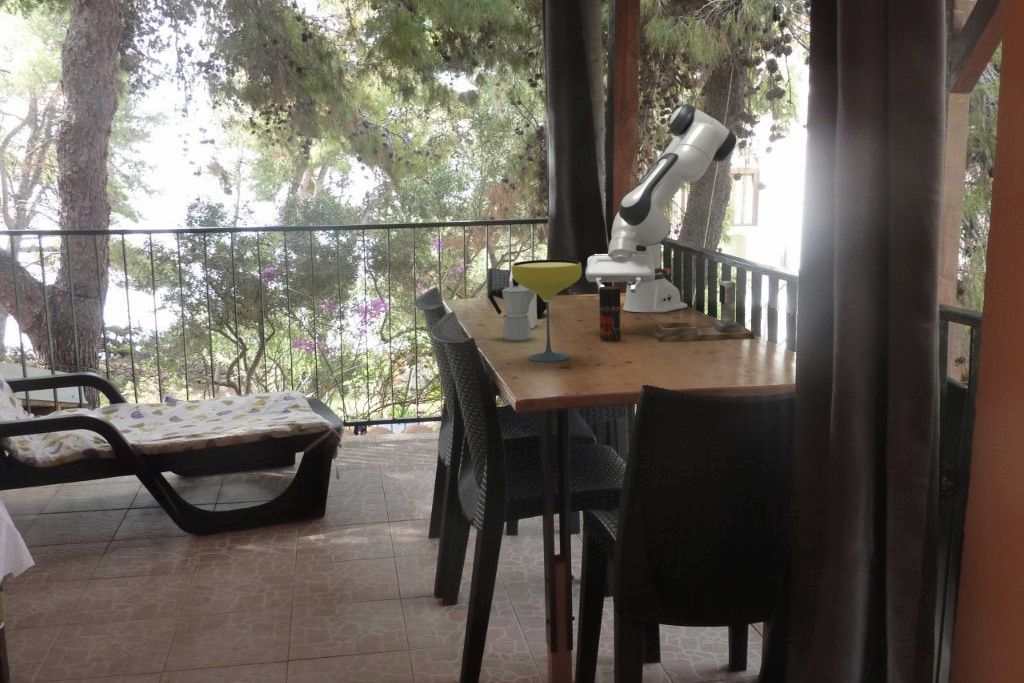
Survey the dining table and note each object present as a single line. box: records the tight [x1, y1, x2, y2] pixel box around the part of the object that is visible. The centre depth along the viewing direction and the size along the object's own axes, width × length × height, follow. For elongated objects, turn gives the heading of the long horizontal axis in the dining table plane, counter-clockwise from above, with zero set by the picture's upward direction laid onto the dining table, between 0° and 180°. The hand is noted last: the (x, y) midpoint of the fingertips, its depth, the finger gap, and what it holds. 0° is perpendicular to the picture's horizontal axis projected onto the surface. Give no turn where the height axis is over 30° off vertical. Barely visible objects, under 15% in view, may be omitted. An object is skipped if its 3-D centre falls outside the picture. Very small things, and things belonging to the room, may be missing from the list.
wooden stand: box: [651, 280, 755, 343], centre depth 276 cm, size 27×11×16 cm, turn 92°
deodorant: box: [598, 285, 622, 343], centre depth 276 cm, size 6×6×15 cm
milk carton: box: [508, 266, 538, 329], centre depth 300 cm, size 7×7×19 cm
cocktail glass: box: [512, 259, 583, 363], centre depth 253 cm, size 18×18×25 cm
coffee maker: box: [488, 278, 535, 342], centre depth 281 cm, size 15×9×18 cm, turn 71°
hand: (617, 291), depth 279 cm, fingers open, 8 cm apart
